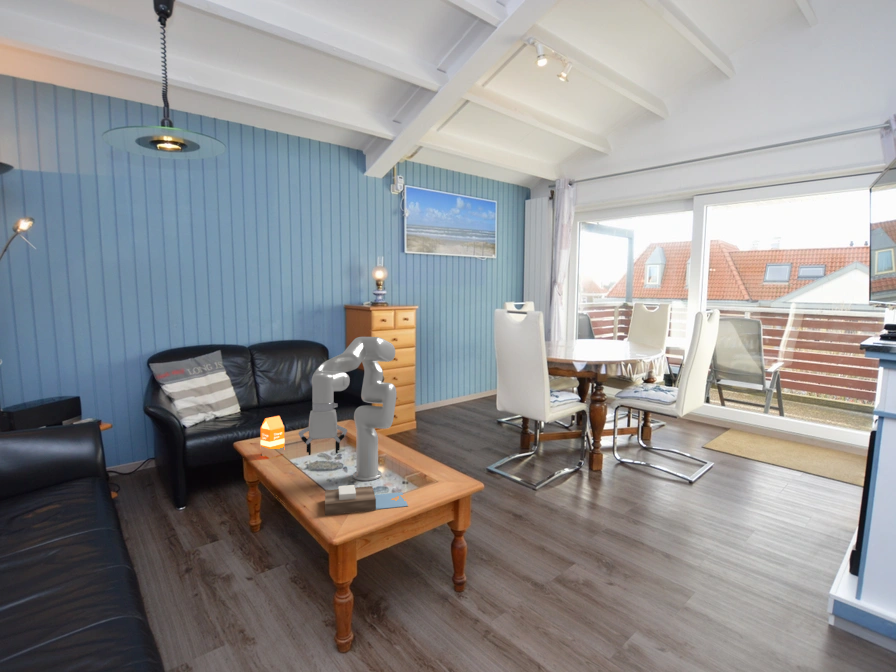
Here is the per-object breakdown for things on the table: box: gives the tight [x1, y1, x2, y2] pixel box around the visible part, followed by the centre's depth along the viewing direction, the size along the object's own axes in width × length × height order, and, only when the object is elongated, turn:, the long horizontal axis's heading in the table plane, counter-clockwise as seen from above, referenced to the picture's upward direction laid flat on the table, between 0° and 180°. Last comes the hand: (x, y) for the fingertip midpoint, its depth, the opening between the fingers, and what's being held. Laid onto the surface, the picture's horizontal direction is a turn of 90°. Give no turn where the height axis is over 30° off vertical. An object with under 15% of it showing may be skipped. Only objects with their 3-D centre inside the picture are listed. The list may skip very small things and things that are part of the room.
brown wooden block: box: [324, 485, 376, 516], centre depth 171 cm, size 14×18×4 cm
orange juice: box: [260, 415, 286, 449], centre depth 235 cm, size 8×9×20 cm
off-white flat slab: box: [338, 484, 356, 500], centre depth 171 cm, size 9×6×2 cm, turn 15°
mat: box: [375, 491, 409, 511], centre depth 176 cm, size 14×12×1 cm
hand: (323, 453), depth 168 cm, fingers open, 9 cm apart
